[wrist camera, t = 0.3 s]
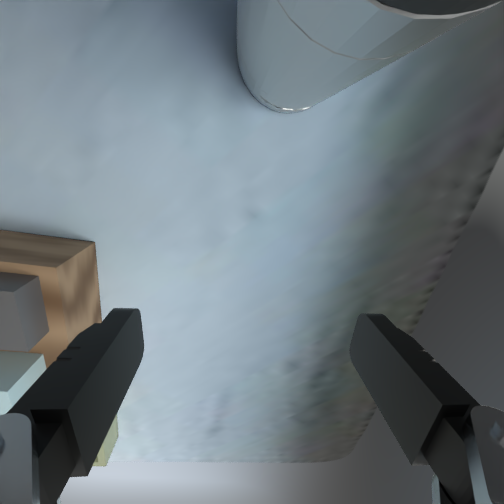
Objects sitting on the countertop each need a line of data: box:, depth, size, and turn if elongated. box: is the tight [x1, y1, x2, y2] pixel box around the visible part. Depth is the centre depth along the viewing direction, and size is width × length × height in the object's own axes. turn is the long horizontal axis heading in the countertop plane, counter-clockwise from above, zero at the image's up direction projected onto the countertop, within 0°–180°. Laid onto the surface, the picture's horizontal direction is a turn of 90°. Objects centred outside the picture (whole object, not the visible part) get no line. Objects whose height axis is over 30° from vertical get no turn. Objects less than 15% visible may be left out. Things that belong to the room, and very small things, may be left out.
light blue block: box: [0, 351, 46, 415], centre depth 22 cm, size 4×4×4 cm
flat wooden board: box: [0, 230, 102, 369], centre depth 26 cm, size 22×14×6 cm, turn 170°
